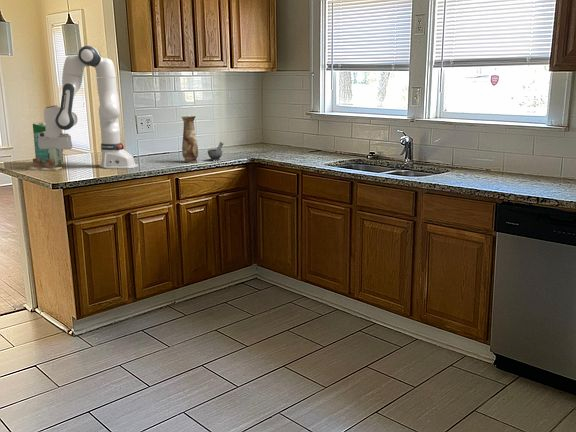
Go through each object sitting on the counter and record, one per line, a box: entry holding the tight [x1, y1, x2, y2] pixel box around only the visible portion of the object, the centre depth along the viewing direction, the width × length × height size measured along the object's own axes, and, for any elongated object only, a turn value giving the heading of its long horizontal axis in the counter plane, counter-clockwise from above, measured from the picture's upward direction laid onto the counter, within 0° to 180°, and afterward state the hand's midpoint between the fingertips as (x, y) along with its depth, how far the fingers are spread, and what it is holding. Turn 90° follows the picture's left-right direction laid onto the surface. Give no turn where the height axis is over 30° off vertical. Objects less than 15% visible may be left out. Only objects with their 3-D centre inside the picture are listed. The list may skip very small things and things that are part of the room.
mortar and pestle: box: [207, 141, 224, 161], centre depth 379 cm, size 11×9×12 cm
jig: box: [26, 157, 63, 171], centre depth 334 cm, size 18×7×6 cm, turn 82°
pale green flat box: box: [49, 148, 65, 167], centre depth 342 cm, size 9×3×10 cm, turn 171°
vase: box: [180, 114, 199, 163], centre depth 368 cm, size 10×11×30 cm
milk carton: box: [32, 122, 50, 163], centre depth 352 cm, size 9×9×25 cm
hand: (56, 156), depth 342 cm, fingers closed on pale green flat box, 3 cm apart
